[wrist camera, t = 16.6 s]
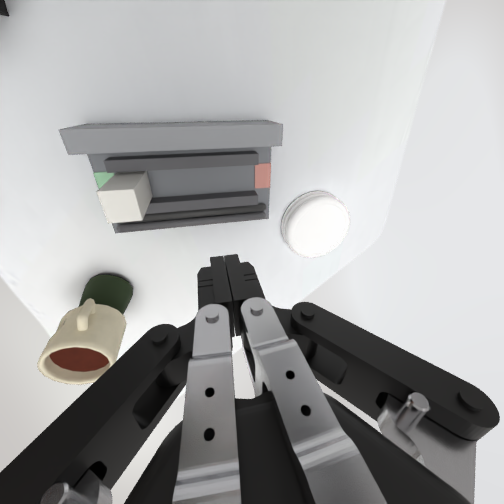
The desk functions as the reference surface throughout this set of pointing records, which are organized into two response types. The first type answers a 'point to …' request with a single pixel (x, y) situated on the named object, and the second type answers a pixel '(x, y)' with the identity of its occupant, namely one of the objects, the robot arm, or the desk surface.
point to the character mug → (88, 333)
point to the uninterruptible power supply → (3, 8)
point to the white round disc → (315, 224)
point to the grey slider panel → (185, 167)
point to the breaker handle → (125, 196)
